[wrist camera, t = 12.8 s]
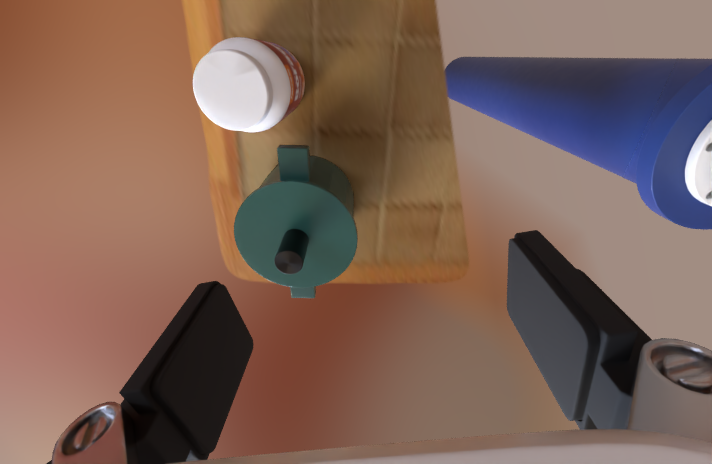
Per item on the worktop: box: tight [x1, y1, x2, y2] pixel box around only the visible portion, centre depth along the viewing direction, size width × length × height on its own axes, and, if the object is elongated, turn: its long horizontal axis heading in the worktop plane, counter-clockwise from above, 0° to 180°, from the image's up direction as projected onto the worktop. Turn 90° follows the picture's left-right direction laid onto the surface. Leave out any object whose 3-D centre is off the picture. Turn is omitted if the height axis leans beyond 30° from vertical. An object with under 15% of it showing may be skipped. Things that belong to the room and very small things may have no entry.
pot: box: [259, 145, 354, 298], centre depth 31 cm, size 10×15×8 cm, turn 179°
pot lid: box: [234, 180, 357, 288], centre depth 26 cm, size 11×11×5 cm
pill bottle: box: [193, 37, 305, 132], centre depth 24 cm, size 6×6×11 cm
